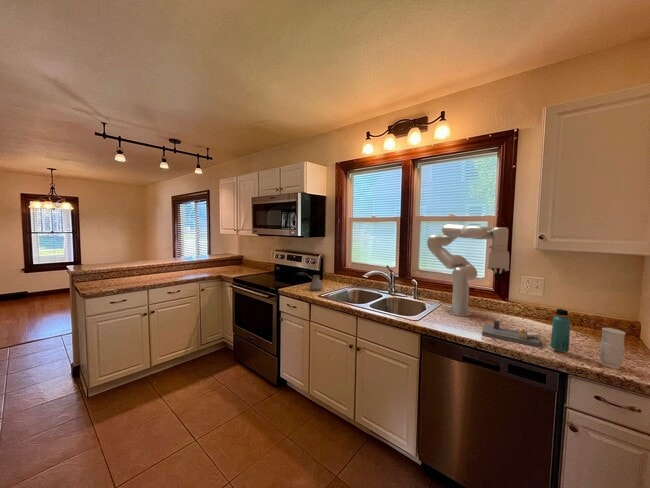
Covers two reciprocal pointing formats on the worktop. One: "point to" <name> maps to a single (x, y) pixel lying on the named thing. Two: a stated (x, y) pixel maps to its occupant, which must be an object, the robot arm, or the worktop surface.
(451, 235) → the robot arm
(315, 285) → the gray watering can
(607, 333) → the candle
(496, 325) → the dark gray slider
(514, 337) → the panel
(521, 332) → the brass slider
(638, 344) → the worktop surface
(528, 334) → the block
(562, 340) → the beverage bottle
